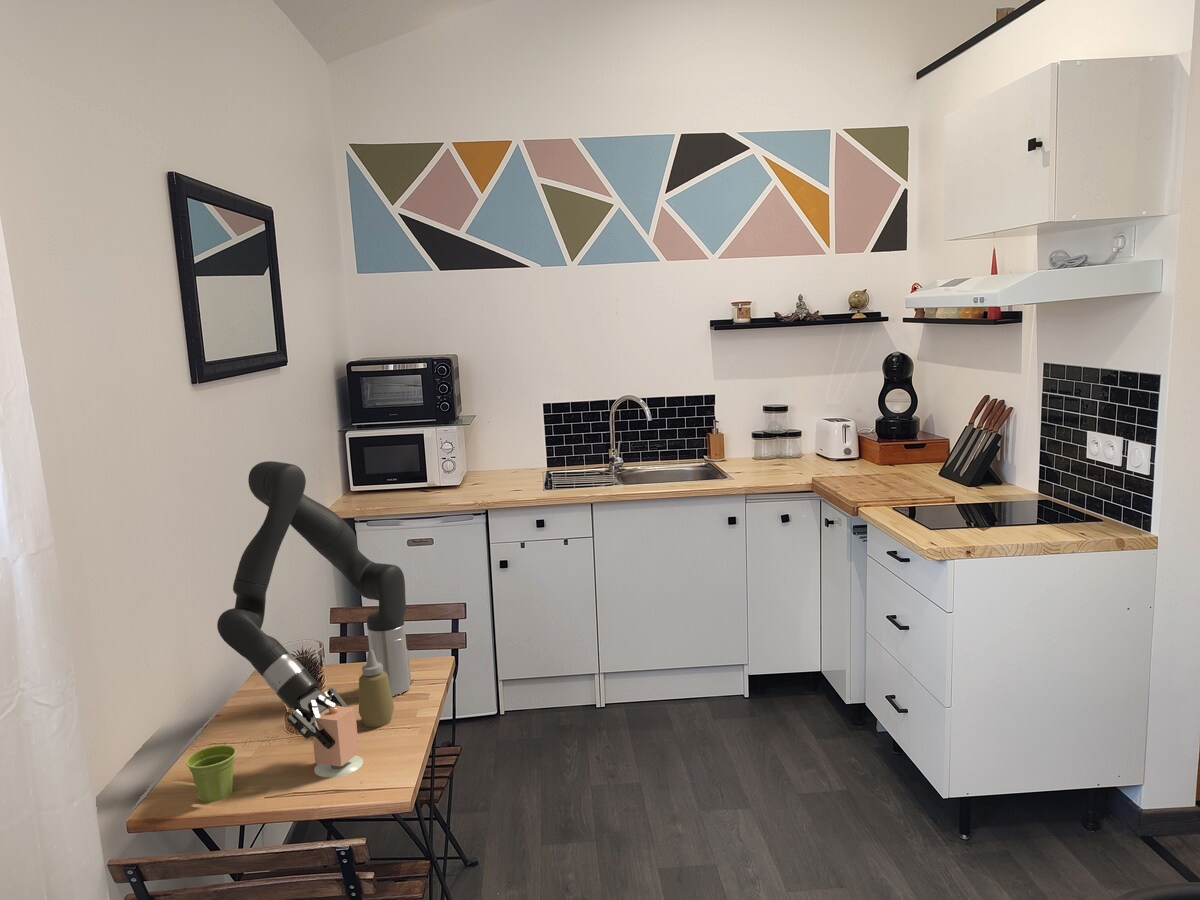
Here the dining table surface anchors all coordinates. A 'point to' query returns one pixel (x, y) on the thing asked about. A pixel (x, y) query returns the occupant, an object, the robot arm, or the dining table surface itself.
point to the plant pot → (213, 772)
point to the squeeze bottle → (374, 694)
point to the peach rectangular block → (337, 736)
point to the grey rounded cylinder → (338, 766)
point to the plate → (349, 768)
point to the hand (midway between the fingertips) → (342, 738)
